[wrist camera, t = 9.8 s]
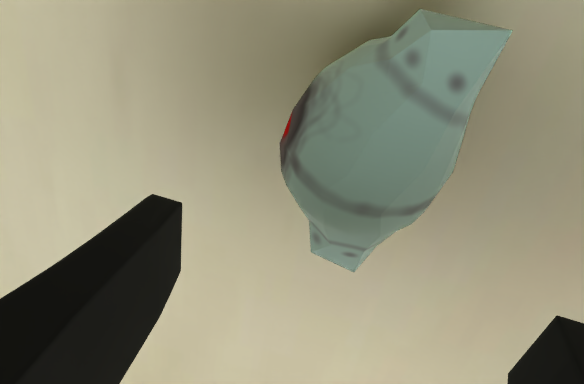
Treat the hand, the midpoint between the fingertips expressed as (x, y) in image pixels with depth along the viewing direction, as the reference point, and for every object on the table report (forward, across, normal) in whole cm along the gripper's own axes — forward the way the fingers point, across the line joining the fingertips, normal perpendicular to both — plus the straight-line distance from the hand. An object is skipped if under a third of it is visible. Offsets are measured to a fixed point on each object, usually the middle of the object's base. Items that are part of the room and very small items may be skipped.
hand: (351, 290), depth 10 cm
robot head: (+9, 0, 0) cm, 9 cm away
